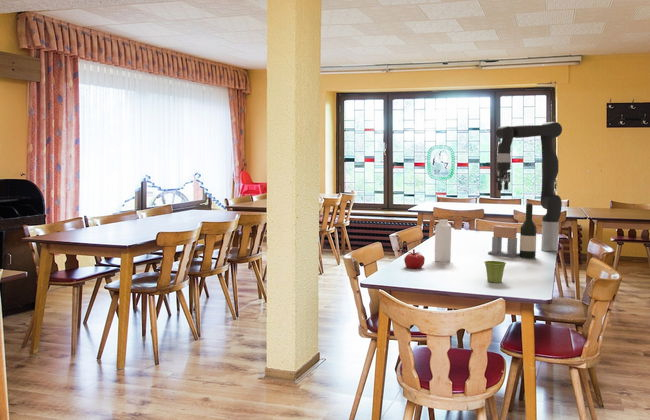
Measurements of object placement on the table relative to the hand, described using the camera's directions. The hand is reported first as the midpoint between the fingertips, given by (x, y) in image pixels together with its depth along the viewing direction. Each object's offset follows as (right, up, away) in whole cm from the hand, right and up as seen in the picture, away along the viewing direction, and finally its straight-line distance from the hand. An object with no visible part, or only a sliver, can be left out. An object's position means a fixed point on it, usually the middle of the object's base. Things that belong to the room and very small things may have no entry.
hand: (502, 190), depth 361 cm
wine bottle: (+10, -38, -13) cm, 41 cm away
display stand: (-1, -37, -5) cm, 37 cm away
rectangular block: (-1, -27, -6) cm, 27 cm away
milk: (-39, -39, -26) cm, 61 cm away
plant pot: (-26, -43, -79) cm, 93 cm away
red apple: (-57, -40, -46) cm, 83 cm away
